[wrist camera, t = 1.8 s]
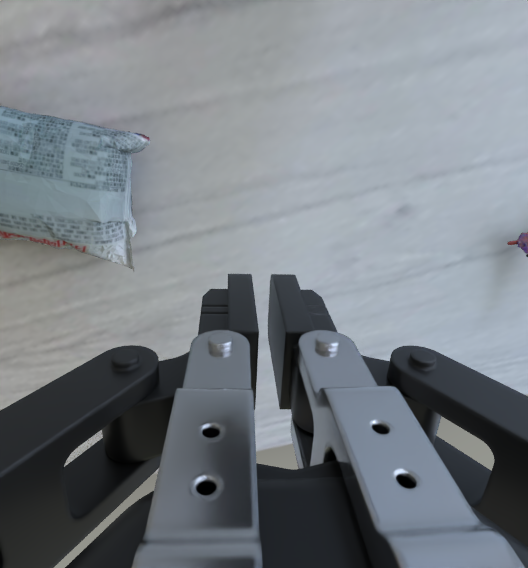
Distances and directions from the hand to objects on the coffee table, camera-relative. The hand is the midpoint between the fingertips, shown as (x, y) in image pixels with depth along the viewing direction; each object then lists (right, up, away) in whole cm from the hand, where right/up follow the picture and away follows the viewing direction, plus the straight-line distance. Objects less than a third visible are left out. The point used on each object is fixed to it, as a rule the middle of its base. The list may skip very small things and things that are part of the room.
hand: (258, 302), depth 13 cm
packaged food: (-13, +7, +15) cm, 21 cm away
